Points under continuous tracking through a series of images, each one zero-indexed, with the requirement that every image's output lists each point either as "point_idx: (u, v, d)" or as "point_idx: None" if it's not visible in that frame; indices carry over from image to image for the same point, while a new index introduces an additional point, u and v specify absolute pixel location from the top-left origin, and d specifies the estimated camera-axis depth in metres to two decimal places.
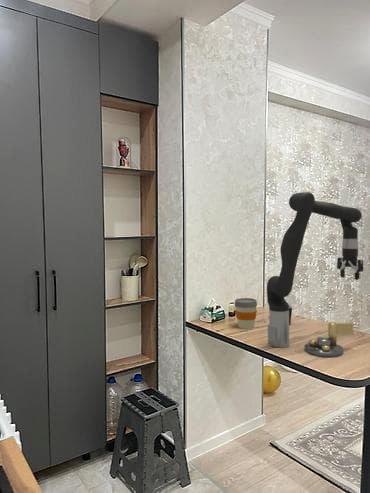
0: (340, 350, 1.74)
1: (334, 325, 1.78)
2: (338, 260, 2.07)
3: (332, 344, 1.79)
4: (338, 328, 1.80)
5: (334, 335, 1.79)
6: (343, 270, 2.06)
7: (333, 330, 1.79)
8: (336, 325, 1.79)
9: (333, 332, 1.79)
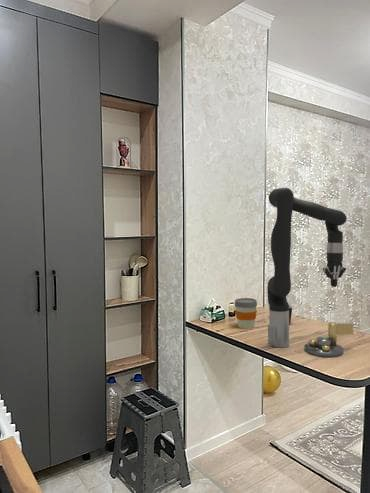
0: (340, 350, 1.74)
1: (334, 325, 1.78)
2: (327, 270, 1.91)
3: (332, 344, 1.79)
4: (338, 328, 1.80)
5: (334, 335, 1.79)
6: None
7: (333, 330, 1.79)
8: (336, 325, 1.79)
9: (333, 332, 1.79)
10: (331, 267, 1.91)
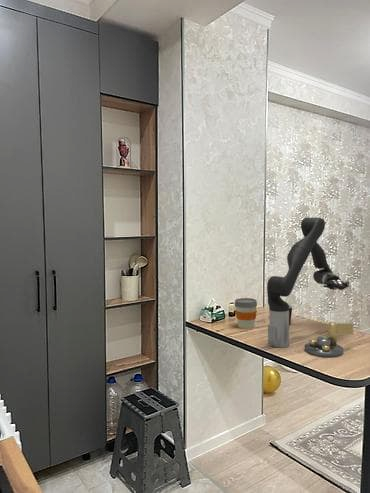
0: (340, 350, 1.74)
1: (334, 325, 1.78)
2: (326, 282, 1.94)
3: (332, 344, 1.79)
4: (338, 328, 1.80)
5: (334, 335, 1.79)
6: None
7: (333, 330, 1.79)
8: (336, 325, 1.79)
9: (333, 332, 1.79)
10: (330, 281, 1.96)
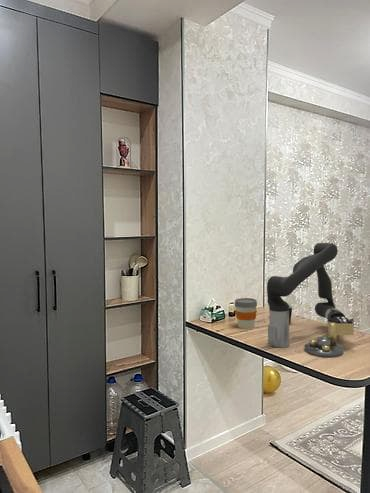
0: (340, 350, 1.74)
1: (334, 325, 1.78)
2: (330, 319, 1.88)
3: (332, 344, 1.79)
4: (338, 329, 1.79)
5: (334, 335, 1.79)
6: None
7: (332, 330, 1.79)
8: (336, 325, 1.79)
9: (333, 332, 1.79)
10: (334, 318, 1.89)
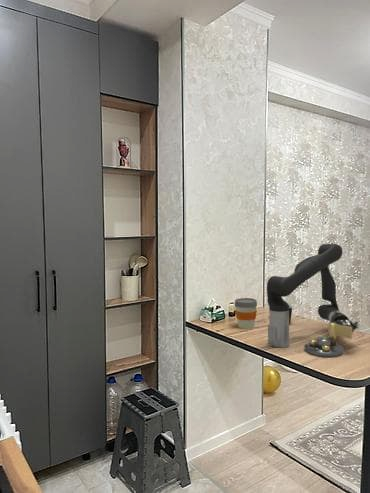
0: (340, 350, 1.74)
1: (331, 325, 1.79)
2: None
3: None
4: (337, 330, 1.78)
5: (331, 335, 1.79)
6: None
7: (330, 330, 1.79)
8: (334, 325, 1.78)
9: (330, 332, 1.79)
10: (337, 322, 1.84)
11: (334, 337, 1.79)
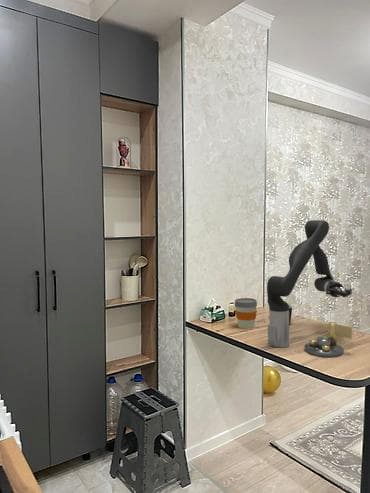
0: (340, 350, 1.74)
1: (331, 325, 1.79)
2: (329, 289, 1.89)
3: None
4: (337, 330, 1.78)
5: (331, 335, 1.79)
6: None
7: (330, 330, 1.79)
8: (334, 325, 1.78)
9: (330, 332, 1.79)
10: (332, 289, 1.91)
11: (334, 337, 1.79)
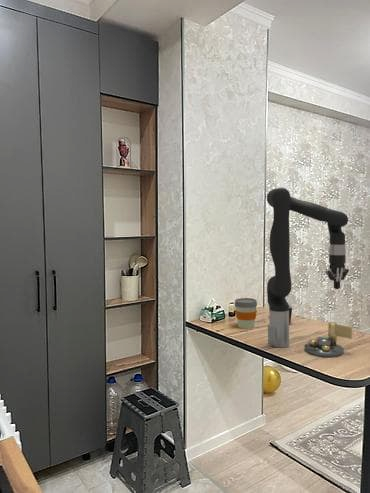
0: (340, 350, 1.74)
1: (331, 325, 1.79)
2: None
3: None
4: (337, 330, 1.78)
5: (331, 335, 1.79)
6: None
7: (330, 330, 1.79)
8: (334, 325, 1.78)
9: (330, 332, 1.79)
10: None
11: (334, 337, 1.79)
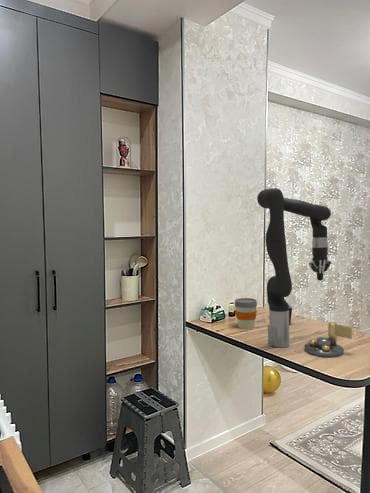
0: (340, 350, 1.74)
1: (331, 325, 1.79)
2: None
3: None
4: (337, 330, 1.78)
5: (331, 335, 1.79)
6: None
7: (330, 330, 1.79)
8: (334, 325, 1.78)
9: (330, 332, 1.79)
10: None
11: (334, 337, 1.79)
